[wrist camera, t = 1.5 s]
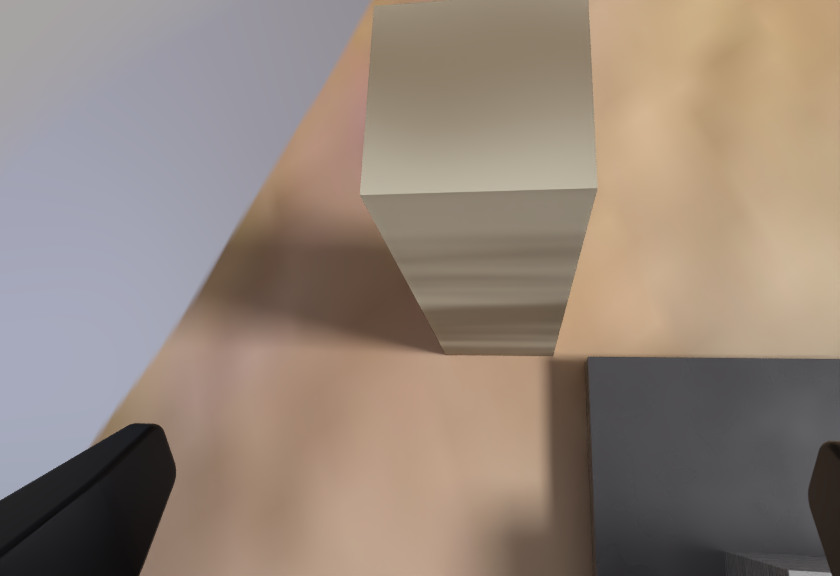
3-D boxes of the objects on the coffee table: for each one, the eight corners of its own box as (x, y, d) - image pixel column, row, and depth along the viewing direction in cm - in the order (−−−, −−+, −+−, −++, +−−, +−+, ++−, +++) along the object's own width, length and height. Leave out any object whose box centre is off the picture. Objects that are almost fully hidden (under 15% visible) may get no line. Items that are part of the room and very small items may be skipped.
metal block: (553, 355, 21) (598, 188, 9) (445, 355, 22) (359, 195, 10) (550, 255, 22) (587, -11, 10) (448, 256, 23) (373, 5, 11)
